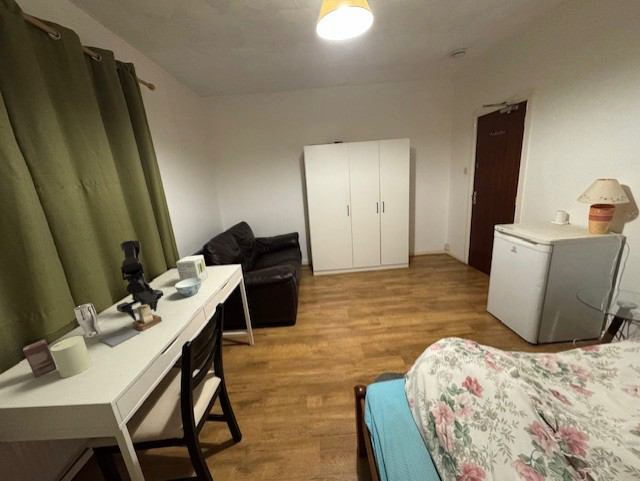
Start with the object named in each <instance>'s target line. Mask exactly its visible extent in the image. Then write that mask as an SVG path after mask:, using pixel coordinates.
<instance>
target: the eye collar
mask: <svg viewBox="0 0 640 481" xmlns="http://www.w3.org/2000/svg"><path fill="white" fill-rule="evenodd" d="M152 316H153V320H151V321H149V322H147V323H145V324H142V323H141V321H140V318H139V319H138V320H137V319H136V321H133V322H132V326H133V329H134V328H135V329H136V330H138V331H139V330H140V331H142V332H144V331H146V330H148V329H150V328H152V327H154V326H156V325H158V324H160V323H162V322H163V319H162V316H159V315H157V314H154V313H152Z"/></svg>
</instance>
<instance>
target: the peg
mask: <svg viewBox="0 0 640 481" xmlns="http://www.w3.org/2000/svg"><path fill="white" fill-rule="evenodd" d="M136 311H137V315H138V318H139V319H140V321H141V323H142V324H145V323H147V322H149V321H151V320H153V316H152V314H153V313H152V309H150V306H149V305H147V304H146V305H141V304H140V305H139V306H137V307H136Z"/></svg>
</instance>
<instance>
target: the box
mask: <svg viewBox="0 0 640 481" xmlns="http://www.w3.org/2000/svg"><path fill="white" fill-rule="evenodd" d="M22 349H23V350H22V352H23V354H24V356H25V358H26V360H27V362H28V365H29V367H30V370H31V372H32V373H33V375H34V378H38V377H40V376H44V375H45V374H47V373H50V372H52V371H54V370H57V369H58V367H57V364H56V362H55V359H54V357H53V354H52V352H51V351H50V349H51V348H49V345H48V342H47V340H46V339H41V340H39V341H37V342H33V343H31V344H29V345H26V346H24V347H23V348H22Z"/></svg>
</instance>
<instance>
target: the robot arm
mask: <svg viewBox="0 0 640 481" xmlns="http://www.w3.org/2000/svg"><path fill="white" fill-rule="evenodd" d="M119 245H120V248H121V249H120V250H121V251H122V252H123V254H124V260H123V261H122V262H121V267H120V270H121V275H122V280H123V281H127V284H126V291H127V293H129V294H131V297H132V298H131V300H132V301H131V302H126V301H124V302H122V303H120V304H119V303H118V304H117V306H116V310H117V312H119V313H124V314H127V315H129V317H130V318H132V320H134V321H133V322H135V321H137V317H136V315H135V313H134V310H135V309H133V306H136V305H138V304H140V306H141V305H146V304H147V305H149V306H150V309H151V310H153V311H154V313H155V312H157V307H158V303H159V300H160V299H161V298H162V297H163V296H165V294H164V292H163V290H160V289H153V288H152V287H151V285H150V283H148V282H147V280H145V276H144V274H145V270H144V265H143V264H142V263H141V260H140V253H141V252H142V251H141V248H142V244H141V242H140V240H133V239H132V240H126V241H123V242H121V243H119Z"/></svg>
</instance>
